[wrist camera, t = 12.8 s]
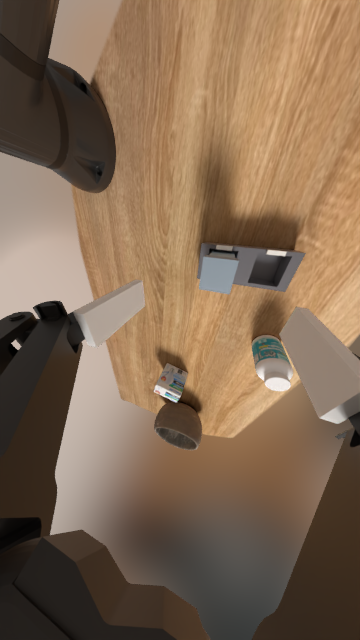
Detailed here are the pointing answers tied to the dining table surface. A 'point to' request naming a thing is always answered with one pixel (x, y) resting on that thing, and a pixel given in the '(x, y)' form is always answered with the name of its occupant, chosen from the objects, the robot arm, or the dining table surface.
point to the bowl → (179, 425)
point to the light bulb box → (171, 382)
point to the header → (259, 265)
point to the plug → (218, 271)
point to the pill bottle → (272, 362)
